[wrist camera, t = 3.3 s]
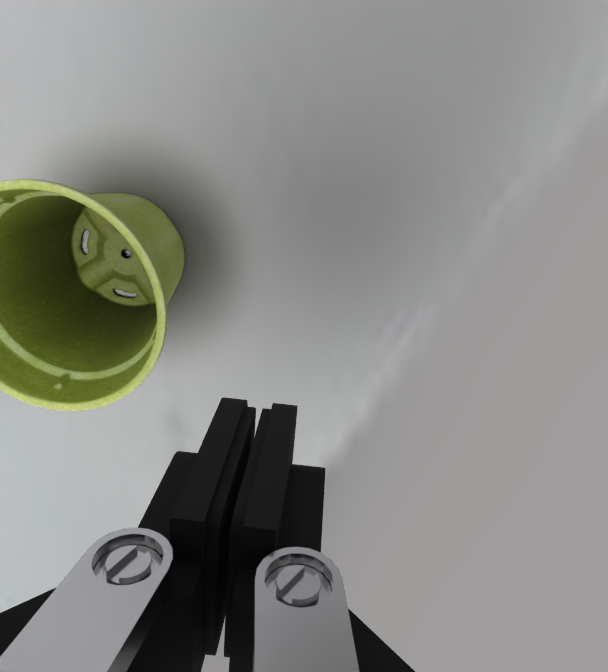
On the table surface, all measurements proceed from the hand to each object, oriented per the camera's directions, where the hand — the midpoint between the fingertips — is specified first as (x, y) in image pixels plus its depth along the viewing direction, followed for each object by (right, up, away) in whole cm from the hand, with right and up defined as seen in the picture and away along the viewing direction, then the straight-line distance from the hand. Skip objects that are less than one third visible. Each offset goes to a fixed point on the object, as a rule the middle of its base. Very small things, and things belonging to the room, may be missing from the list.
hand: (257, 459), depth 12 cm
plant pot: (-8, +7, +17) cm, 21 cm away
